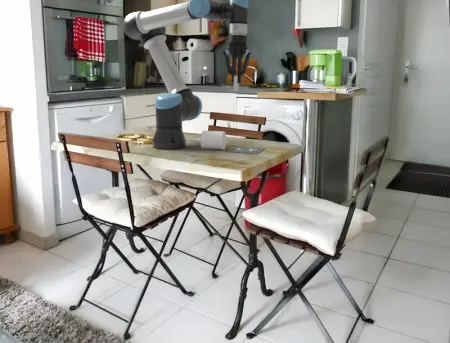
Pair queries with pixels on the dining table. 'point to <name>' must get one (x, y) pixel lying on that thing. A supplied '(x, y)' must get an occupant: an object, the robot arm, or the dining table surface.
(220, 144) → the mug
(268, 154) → the dining table surface
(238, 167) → the dining table surface
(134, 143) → the dining table surface
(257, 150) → the tile
